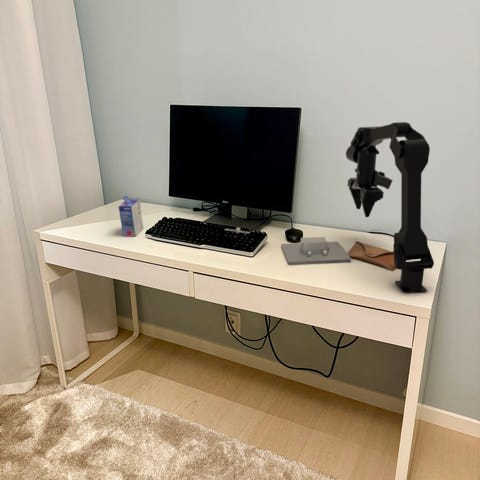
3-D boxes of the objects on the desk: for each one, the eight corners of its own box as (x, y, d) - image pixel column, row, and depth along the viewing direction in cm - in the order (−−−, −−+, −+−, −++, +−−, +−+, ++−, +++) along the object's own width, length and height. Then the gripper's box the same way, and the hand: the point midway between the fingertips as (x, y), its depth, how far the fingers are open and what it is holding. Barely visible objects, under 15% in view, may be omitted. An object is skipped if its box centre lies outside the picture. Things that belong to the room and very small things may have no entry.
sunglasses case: (341, 256, 143) (348, 237, 143) (350, 261, 148) (357, 242, 148) (394, 271, 131) (401, 250, 131) (402, 276, 136) (408, 256, 136)
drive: (329, 253, 143) (329, 242, 141) (303, 254, 142) (303, 243, 141) (325, 247, 147) (325, 236, 146) (300, 249, 147) (300, 237, 146)
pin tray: (351, 262, 138) (351, 254, 137) (288, 264, 137) (288, 257, 137) (337, 244, 153) (338, 237, 152) (281, 246, 152) (281, 239, 152)
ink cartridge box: (130, 228, 176) (126, 193, 171) (143, 228, 175) (140, 193, 170) (121, 236, 166) (117, 199, 161) (135, 236, 166) (131, 199, 161)
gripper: (402, 171, 133) (397, 220, 138) (380, 160, 150) (376, 204, 156) (366, 172, 132) (362, 222, 138) (348, 161, 150) (345, 205, 155)
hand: (362, 212), depth 147 cm, fingers open, 9 cm apart
